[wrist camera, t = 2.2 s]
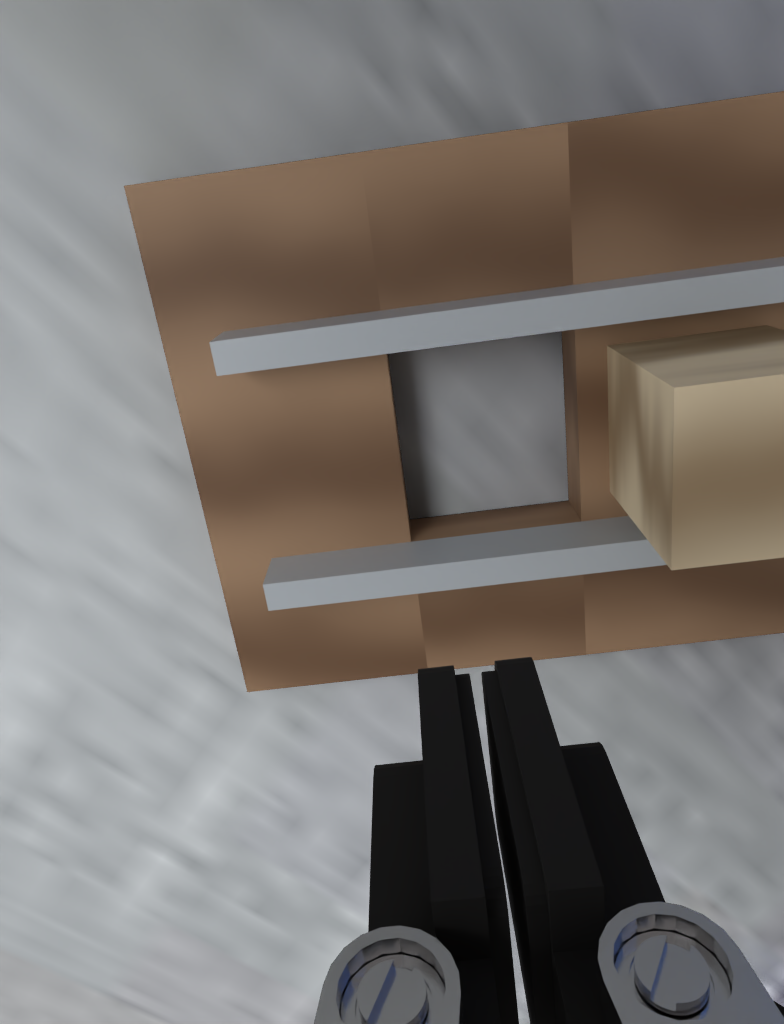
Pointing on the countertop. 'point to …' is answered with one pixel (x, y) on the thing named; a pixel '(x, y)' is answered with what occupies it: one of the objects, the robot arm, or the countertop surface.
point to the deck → (367, 380)
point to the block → (701, 444)
